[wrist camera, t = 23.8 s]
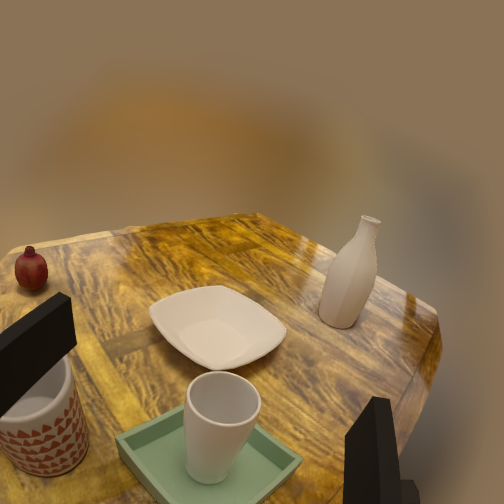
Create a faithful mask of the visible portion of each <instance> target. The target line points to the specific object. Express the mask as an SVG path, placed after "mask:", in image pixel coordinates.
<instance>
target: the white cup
mask: <svg viewBox="0 0 504 504" xmlns="http://www.w3.org/2000/svg"><path fill="white" fill-rule="evenodd" d="M260 409H261V397H260V395H259V392H258V391H257V389H256V388H255V387H254V385H253V384H251V383H250V382H249V381H248V380H246V379H245V378H243V377H241V376H239V375H236V374H233V373H229V372H222V371H214V372H208V373H204V374H202V375H200V376H198V377H196V378H195V379H194V380H193V381H192V382H191V383H190V385H189V386H188V389H187V393H186V398H185V404H184V413H183V429H184V442H185V457H186V460H185V468H186V471H187V473H188V474H189V476H190V477H191V478H192V479H194V480H195V481H197V482H199V483H202V484H216V483H219V482H221V481H222V480H224V479H225V478H226V477H227V475H228V473H229V471H230V469H231V467H232V465H233V464H234V462H235V461H236V459H237V457H238V456H239V454H240V453H241V451H242V449H243V448H244V446H245V445H246V443H247V441H248V440H249V438H250V436H251V434H252V432H253V429H254V427H255V424H256V422H257V419H258V415H259V412H260Z"/></svg>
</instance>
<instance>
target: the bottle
mask: <svg viewBox="0 0 504 504" xmlns="http://www.w3.org/2000/svg"><path fill="white" fill-rule="evenodd" d="M380 224H381V222H380V221H379V220H377V219H375V218H372V217H369V216H365V215H362V216H361V221H360V224H359V227H358V229H357V232H356V235H355V237H354V238H353V239H351V240H350V241H349V242H348V243H347V244H346V245H345V246H344V247H343V248H342V249H341V250H340V251H339V253H338V254H337V256H336V257H335V258H334V260H333V262H332V264H331V266H330V268H329V270H328V274H327V277H326V281H325V284H324V287H323V291H322V296H321V301H320V307H319V316H320V318H321V319H322V320H323V322H325V323H326V324H328V325H330V326H332V327H335V328H340V329H345V328H348V327H350V326H352V325H353V323H354V322H355V320H356V319H357V317H358V316H359V314H360V312H361V311H362V309H363V308H364V306H365V304H366V302H367V299H368V297H369V295H370V293H371V291H372V289H373V287H374V282H375V278H376V271H377V257H376V250H375V244H374V243H375V239H376V235H377V231H378V228H379V225H380Z"/></svg>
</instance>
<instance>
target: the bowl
mask: <svg viewBox="0 0 504 504" xmlns="http://www.w3.org/2000/svg"><path fill="white" fill-rule="evenodd" d="M149 313H150V317H151V320H152V321H153V323H154V324H155V326H156V327H157V329H158V330H159V331H160V333H161V334H162V335H163V336H164V337H165V339H166V340H167V341H168V342H169V343H170V344H172V345H173V346H174V347H175V348H176V349H177V350H179V351H180V352H181V353H182V354H184V355H185V356H187V357H188V358H190V359H191V360H192V361H194V362H195V363H197V364H199V365H201V366H204V367H206V368H208V369H210V370H213V371H221V370H228V369H234V368H237V367H240V366H243V365H246V364H249V363H251V362H253V361H255V360H257V359H259V358H261V357H263V356H265V355H266V354H268V353H269V352H270V351H272V350H273V349H274V348H276V347H277V346H278V345H279V344H280V343H281V342H282V341H283V339H284V337H285V335H286V333H287V329H286V328H285V326H284V325H283V324H282V323H281V322H280V320H278V319H277V318H276V317H275V316H274V315H272V314H271V313H270V312H269V311H267V310H266V309H265V308H263V307H262V306H260V305H259V304H258V303H256V302H254V301H253V300H251V299H249V298H247V297H246V296H244V295H242V294H240V293H238V292H236V291H234V290H232V289H229V288H226V287H224V286H205V287H199V288H194V289H190V290H185V291H181V292H179V293H176V294H173V295H170V296H167V297H165V298H163V299H161V300H159V301H157V302H156V303H154V304H153V305H152V306H150V307H149Z"/></svg>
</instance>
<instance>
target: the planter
mask: <svg viewBox="0 0 504 504" xmlns="http://www.w3.org/2000/svg"><path fill="white" fill-rule="evenodd" d="M0 333H2V332H0ZM88 443H89V432H88V427H87V424H86V420H85V417H84V414H83V410H82V407H81V403H80V400H79V396H78V392H77V389H76V385H75V381H74V377H73V372H72V368H71V364H70V361H69V358H68V356H67V354H66V355H65V356H64V357H63V358H62V359H61V360H60V361H59V362H58V363H56V364H55V365H54V366H53V367H52V368H51V369H50V370H49V371H48V372H47V373H46V374H45V375H44V376H43V377H42V378H41V379H40V380H39V381H38V382H37V383H36V384H35V385H34V386H32V387H31V388H30V389H29V390H28V391H27V392H26V393H25V394H24V395H23V396H22V397H21V398H20V399H19V400H18V401H17V402H16V403H15V404H14V405H13V406H12V407H11V408H10V409H9V410H8V411H7V412H6V413H5V414H4V415H3V416H2V417H1V418H0V449H1V450H2V451H3V453H4V454H5V455H6V456H7V458H8V459H9V460H10V461H11V462H12V463H13V464H14V465H15V466H17V467H18V468H20V469H21V470H23V471H25V472H27V473H30V474H33V475H36V476H43V477H50V476H57V475H61V474H64V473H66V472H68V471H70V470H71V469H73V468H74V467H75V466H77V465H78V464H79V463H80V461H81V460H82V459H83V457H84V455H85V453H86V451H87V448H88Z"/></svg>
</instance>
